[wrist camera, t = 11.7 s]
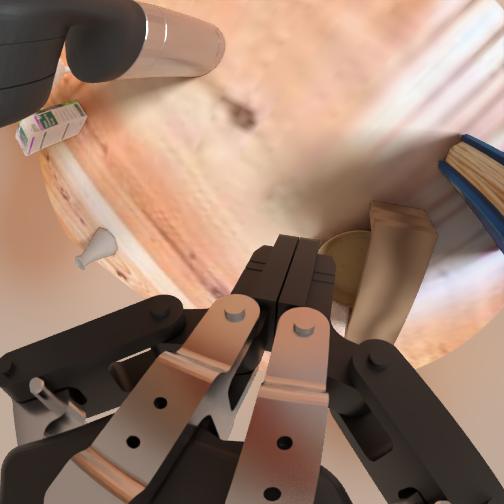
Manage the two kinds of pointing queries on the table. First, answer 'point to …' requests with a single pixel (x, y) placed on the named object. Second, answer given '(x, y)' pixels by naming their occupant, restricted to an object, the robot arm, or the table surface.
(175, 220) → the table surface
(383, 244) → the walnut shelf
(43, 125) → the syrup box
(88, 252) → the flask
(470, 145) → the book
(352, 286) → the plant saucer
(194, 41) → the robot arm
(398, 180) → the table surface
